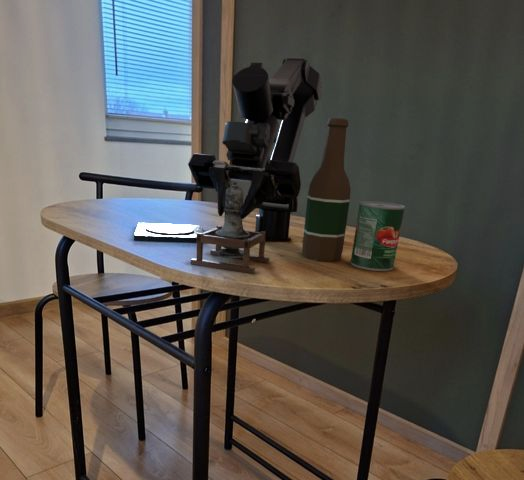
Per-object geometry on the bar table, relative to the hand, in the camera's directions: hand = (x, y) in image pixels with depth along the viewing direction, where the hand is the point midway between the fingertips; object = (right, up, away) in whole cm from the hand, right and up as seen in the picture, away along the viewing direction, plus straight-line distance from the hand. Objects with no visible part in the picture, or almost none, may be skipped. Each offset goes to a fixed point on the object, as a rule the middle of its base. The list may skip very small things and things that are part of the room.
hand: (230, 215), depth 77 cm
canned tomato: (+25, -7, +10) cm, 28 cm away
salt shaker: (0, -6, +4) cm, 7 cm away
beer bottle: (+17, -4, +14) cm, 22 cm away
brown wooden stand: (0, -7, +4) cm, 8 cm away
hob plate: (-14, +3, +23) cm, 27 cm away
